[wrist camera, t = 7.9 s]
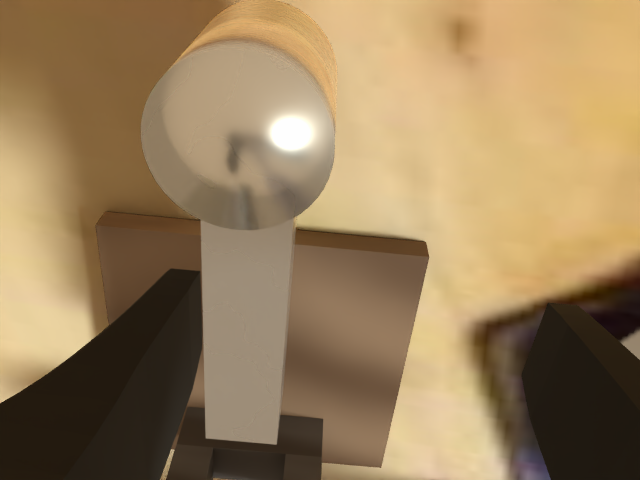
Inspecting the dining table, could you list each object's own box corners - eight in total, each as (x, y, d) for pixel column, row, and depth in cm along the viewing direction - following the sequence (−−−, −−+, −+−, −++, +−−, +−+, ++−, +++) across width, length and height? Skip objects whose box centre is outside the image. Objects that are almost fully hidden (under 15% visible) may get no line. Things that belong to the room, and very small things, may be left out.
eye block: (379, 449, 28) (389, 602, 23) (131, 427, 28) (75, 575, 22) (425, 242, 22) (455, 379, 16) (104, 211, 22) (16, 339, 16)
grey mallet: (305, 377, 23) (296, 494, 18) (201, 367, 22) (168, 483, 18) (344, 7, 15) (344, 59, 11) (191, -9, 15) (132, 39, 11)
